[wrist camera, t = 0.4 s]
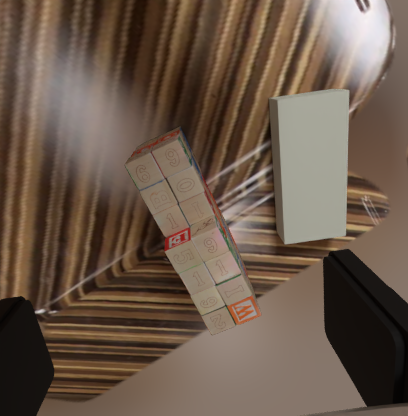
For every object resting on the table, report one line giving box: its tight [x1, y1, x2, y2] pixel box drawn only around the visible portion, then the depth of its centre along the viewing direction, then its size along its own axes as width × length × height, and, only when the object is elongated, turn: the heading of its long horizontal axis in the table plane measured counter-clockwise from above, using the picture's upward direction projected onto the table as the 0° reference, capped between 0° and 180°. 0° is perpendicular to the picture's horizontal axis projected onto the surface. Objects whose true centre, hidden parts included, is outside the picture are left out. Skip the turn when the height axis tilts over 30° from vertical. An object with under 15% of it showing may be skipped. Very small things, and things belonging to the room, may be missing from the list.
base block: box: [269, 89, 349, 244], centre depth 42 cm, size 18×8×4 cm, turn 8°
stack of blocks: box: [125, 127, 262, 335], centre depth 40 cm, size 21×6×12 cm, turn 24°
